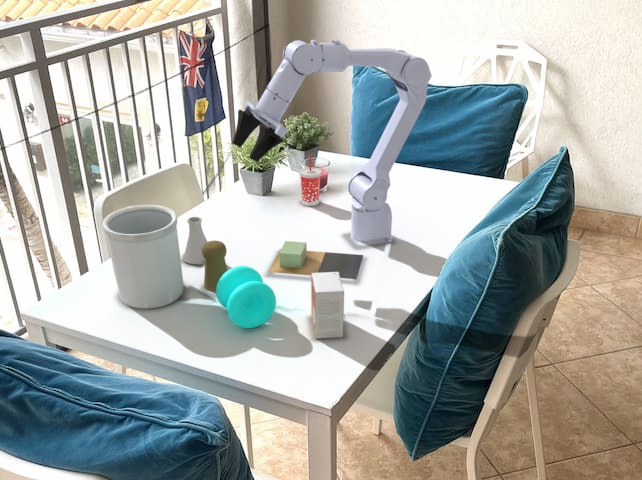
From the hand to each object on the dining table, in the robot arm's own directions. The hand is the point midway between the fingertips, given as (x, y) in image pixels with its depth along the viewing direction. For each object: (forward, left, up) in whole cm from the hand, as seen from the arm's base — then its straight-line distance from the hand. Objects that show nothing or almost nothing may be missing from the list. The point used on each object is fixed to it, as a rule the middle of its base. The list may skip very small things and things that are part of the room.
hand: (244, 152), depth 150 cm
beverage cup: (-24, -28, -26) cm, 45 cm away
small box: (-6, +34, -26) cm, 43 cm away
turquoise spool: (+8, +25, -26) cm, 37 cm away
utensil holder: (+25, +8, -26) cm, 37 cm away
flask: (+12, -5, -26) cm, 29 cm away
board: (-13, +9, -26) cm, 30 cm away
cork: (+11, +11, -26) cm, 30 cm away
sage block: (-8, +6, -25) cm, 27 cm away
